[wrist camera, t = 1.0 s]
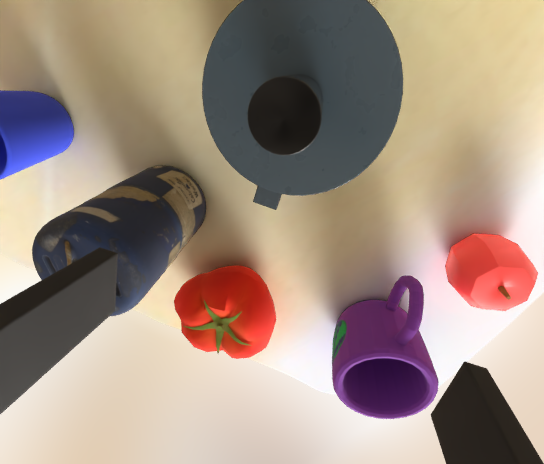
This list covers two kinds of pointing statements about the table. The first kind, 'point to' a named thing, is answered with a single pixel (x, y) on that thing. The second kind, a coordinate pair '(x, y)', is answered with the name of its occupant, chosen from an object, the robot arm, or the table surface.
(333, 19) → the lid
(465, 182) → the table surface
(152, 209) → the canister
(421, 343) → the mug
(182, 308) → the tomato
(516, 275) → the apple
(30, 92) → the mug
